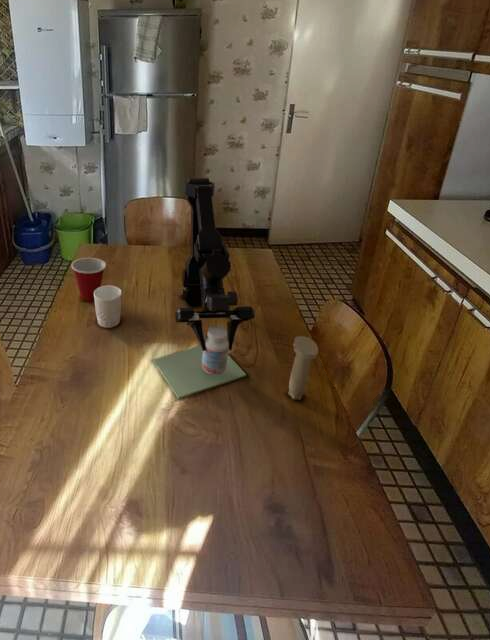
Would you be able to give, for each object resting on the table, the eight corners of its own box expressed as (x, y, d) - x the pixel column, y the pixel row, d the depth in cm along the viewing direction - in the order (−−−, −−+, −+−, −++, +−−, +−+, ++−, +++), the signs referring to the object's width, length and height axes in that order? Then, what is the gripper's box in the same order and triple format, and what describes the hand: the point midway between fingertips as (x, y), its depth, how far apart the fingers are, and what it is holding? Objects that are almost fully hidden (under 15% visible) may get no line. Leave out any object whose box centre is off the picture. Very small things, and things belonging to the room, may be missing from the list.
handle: (301, 386, 106) (312, 336, 99) (309, 406, 100) (321, 355, 94) (281, 385, 106) (291, 335, 99) (288, 405, 100) (299, 354, 94)
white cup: (118, 331, 124) (117, 301, 120) (91, 327, 126) (90, 298, 121) (124, 315, 131) (124, 286, 127) (99, 311, 133) (98, 283, 128)
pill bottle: (196, 366, 109) (199, 330, 104) (212, 355, 113) (216, 320, 108) (214, 380, 105) (218, 343, 100) (231, 368, 109) (235, 332, 104)
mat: (216, 342, 120) (216, 341, 120) (245, 376, 109) (246, 374, 108) (153, 361, 113) (153, 359, 113) (178, 399, 102) (178, 397, 101)
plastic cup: (113, 292, 143) (112, 259, 138) (96, 309, 134) (94, 275, 129) (85, 284, 147) (83, 252, 142) (66, 300, 138) (64, 267, 133)
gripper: (178, 280, 101) (182, 348, 96) (257, 278, 102) (265, 346, 98) (173, 290, 112) (176, 352, 107) (245, 288, 113) (251, 350, 108)
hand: (216, 350), depth 105 cm, fingers closed on pill bottle, 6 cm apart
